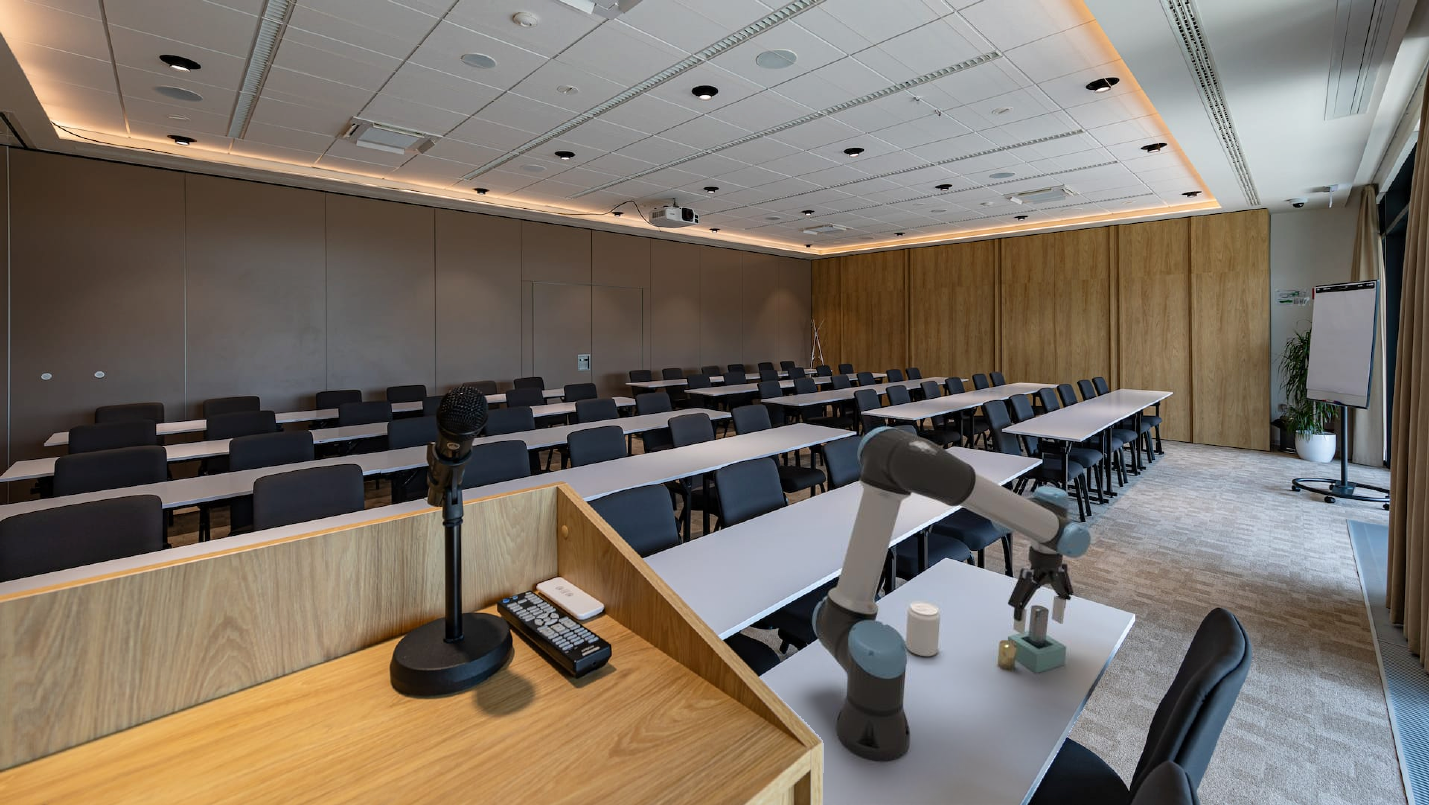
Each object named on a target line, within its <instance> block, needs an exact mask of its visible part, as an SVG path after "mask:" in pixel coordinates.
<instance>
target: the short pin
mask: <svg viewBox="0 0 1429 805" xmlns="http://www.w3.org/2000/svg"><path fill="white" fill-rule="evenodd" d="M998 644H999V645H998V656H997V667H998V668H1000V669H1001V670H1003V671H1007V672H1012V671H1015V669H1016V661H1017V660H1016V651H1017V645H1016V644H1015V643H1013V642H1011V641H1008V639H1006V640H1005V639H1003V640H1000V641H999V642H998Z"/></svg>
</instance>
